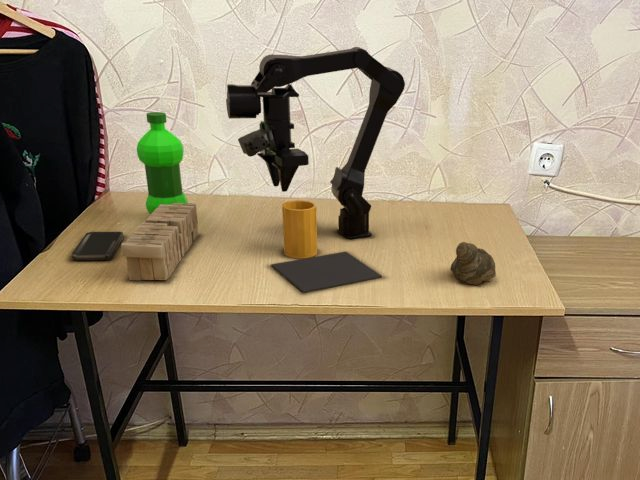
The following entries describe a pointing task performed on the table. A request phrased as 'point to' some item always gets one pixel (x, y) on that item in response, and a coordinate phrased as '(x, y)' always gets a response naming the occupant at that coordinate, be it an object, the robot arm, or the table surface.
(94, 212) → the table surface
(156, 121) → the plastic bottle
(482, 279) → the seashell
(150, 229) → the block tower
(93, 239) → the phone
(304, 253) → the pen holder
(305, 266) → the mat
